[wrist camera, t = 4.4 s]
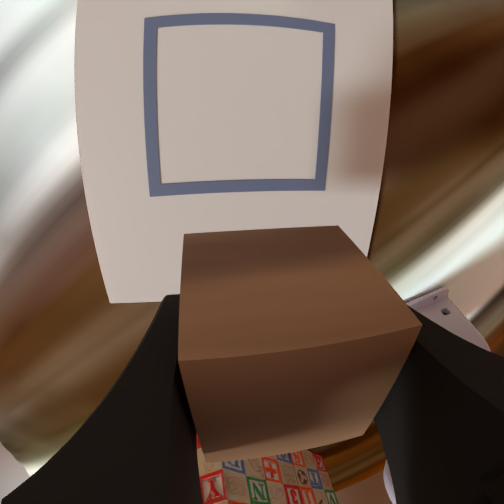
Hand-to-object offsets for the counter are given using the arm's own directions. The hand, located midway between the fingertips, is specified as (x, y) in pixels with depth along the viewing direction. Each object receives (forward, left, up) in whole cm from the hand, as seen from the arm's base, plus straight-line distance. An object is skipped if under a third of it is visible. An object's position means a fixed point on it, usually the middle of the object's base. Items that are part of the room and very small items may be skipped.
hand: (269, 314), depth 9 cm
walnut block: (0, 0, -1) cm, 1 cm away
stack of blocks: (+5, +29, -9) cm, 31 cm away
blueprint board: (-2, -5, -9) cm, 10 cm away
